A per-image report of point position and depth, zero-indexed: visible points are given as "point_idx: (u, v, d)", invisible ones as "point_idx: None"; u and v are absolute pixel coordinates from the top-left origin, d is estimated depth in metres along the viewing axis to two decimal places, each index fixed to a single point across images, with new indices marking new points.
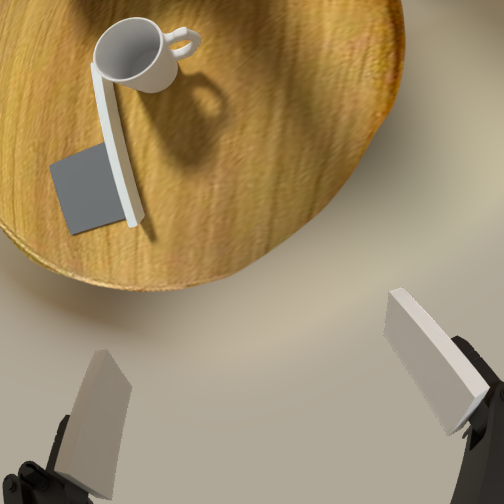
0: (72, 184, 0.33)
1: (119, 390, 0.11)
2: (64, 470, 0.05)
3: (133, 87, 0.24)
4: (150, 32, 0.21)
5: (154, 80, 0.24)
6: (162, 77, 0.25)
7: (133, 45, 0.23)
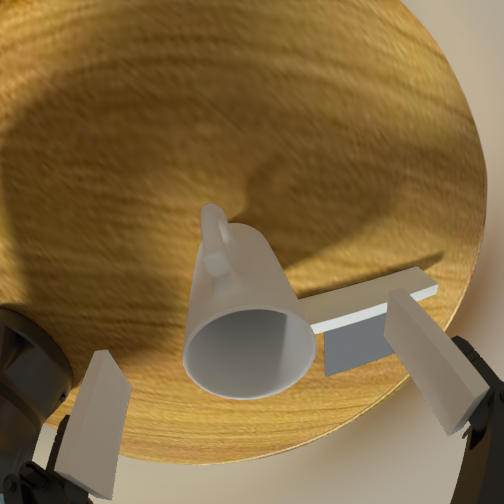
0: (356, 350, 0.31)
1: (119, 390, 0.11)
2: (64, 470, 0.05)
3: None
4: None
5: (288, 281, 0.17)
6: (276, 263, 0.18)
7: None
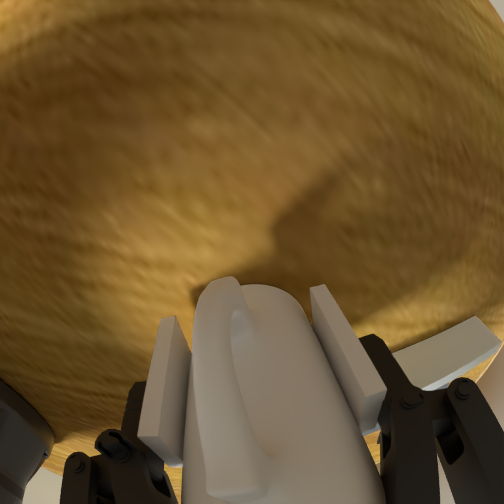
0: None
1: (185, 356, 0.13)
2: (151, 433, 0.07)
3: None
4: None
5: (352, 413, 0.08)
6: (331, 380, 0.09)
7: None
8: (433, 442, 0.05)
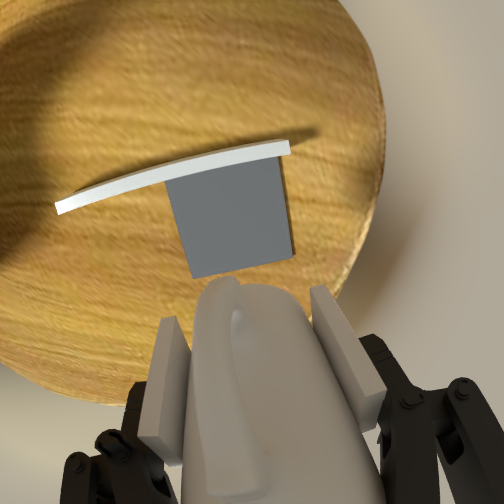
0: (222, 244, 0.29)
1: (185, 356, 0.13)
2: (151, 433, 0.07)
3: None
4: None
5: (352, 413, 0.08)
6: (332, 380, 0.09)
7: None
8: (433, 442, 0.05)
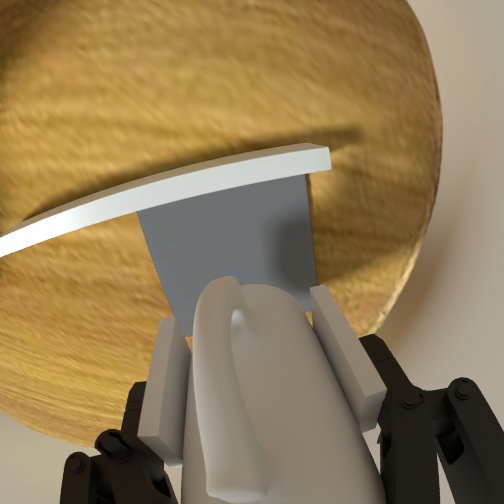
0: None
1: (185, 356, 0.13)
2: (151, 433, 0.07)
3: None
4: None
5: (352, 413, 0.08)
6: (332, 380, 0.09)
7: None
8: (433, 442, 0.05)
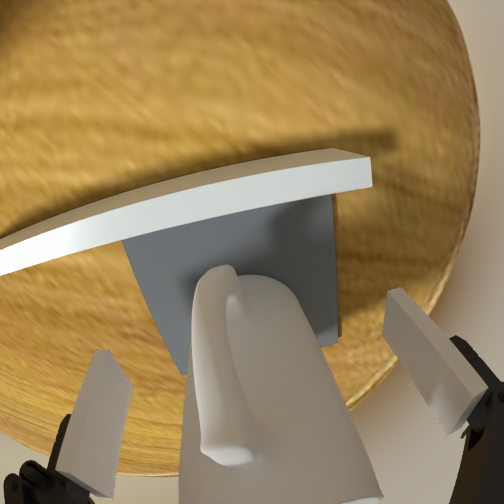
0: None
1: (120, 389, 0.11)
2: (65, 469, 0.05)
3: None
4: None
5: (341, 395, 0.09)
6: (321, 363, 0.10)
7: None
8: None
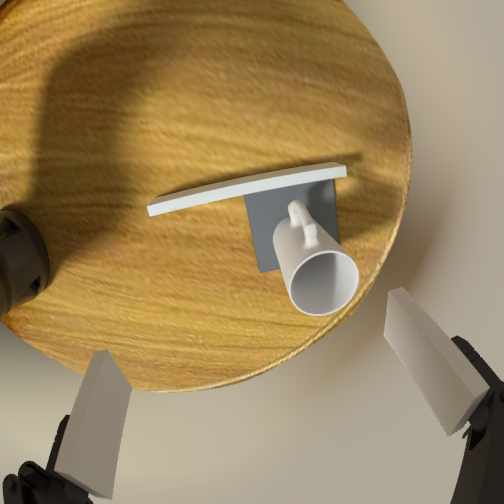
0: None
1: (119, 390, 0.11)
2: (64, 470, 0.05)
3: None
4: None
5: None
6: None
7: None
8: None
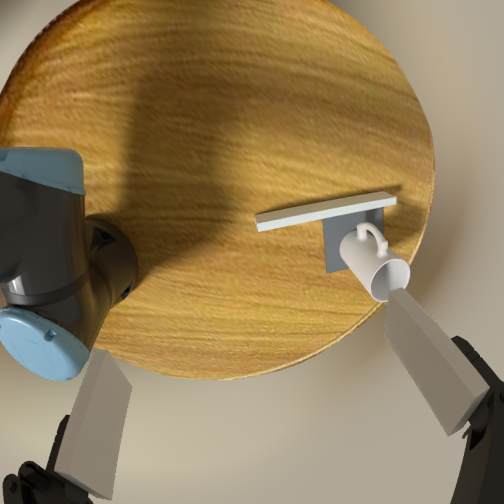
0: None
1: (119, 390, 0.11)
2: (64, 470, 0.05)
3: None
4: None
5: None
6: None
7: None
8: None
